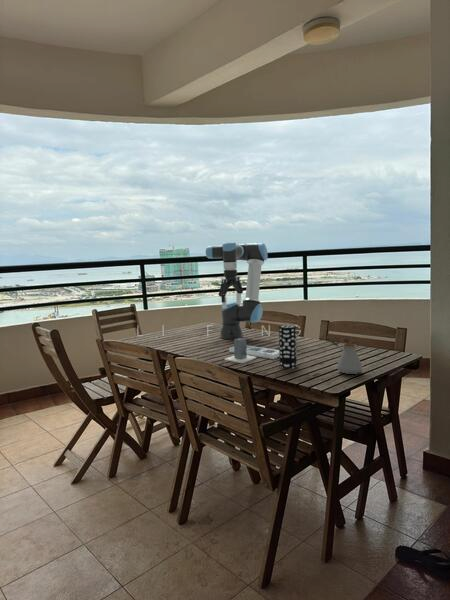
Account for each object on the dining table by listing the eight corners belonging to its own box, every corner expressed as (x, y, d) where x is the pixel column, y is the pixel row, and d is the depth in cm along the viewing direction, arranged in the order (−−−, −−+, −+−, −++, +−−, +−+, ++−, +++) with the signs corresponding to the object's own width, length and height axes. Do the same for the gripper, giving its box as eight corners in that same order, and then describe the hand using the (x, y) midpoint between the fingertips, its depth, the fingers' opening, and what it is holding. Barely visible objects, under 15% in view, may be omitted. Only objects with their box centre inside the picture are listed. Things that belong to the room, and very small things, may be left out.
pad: (238, 355, 230) (238, 353, 230) (256, 358, 222) (256, 356, 222) (224, 360, 221) (224, 358, 221) (242, 363, 213) (242, 361, 213)
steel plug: (239, 356, 225) (239, 337, 224) (246, 357, 222) (246, 338, 221) (234, 358, 221) (233, 339, 220) (241, 359, 218) (240, 340, 217)
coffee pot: (368, 373, 190) (368, 341, 188) (350, 378, 184) (351, 344, 182) (332, 363, 208) (332, 333, 206) (315, 367, 202) (315, 337, 200)
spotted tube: (286, 369, 200) (285, 328, 197) (276, 365, 207) (275, 326, 205) (300, 367, 204) (299, 326, 201) (289, 363, 211) (289, 324, 208)
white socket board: (229, 351, 238) (229, 347, 238) (240, 348, 246) (239, 344, 245) (273, 359, 219) (273, 354, 219) (283, 355, 227) (283, 350, 226)
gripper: (221, 271, 226) (223, 310, 229) (248, 267, 245) (249, 303, 248) (211, 271, 231) (212, 309, 234) (238, 267, 250) (239, 302, 253)
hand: (231, 306), depth 241 cm, fingers open, 13 cm apart
